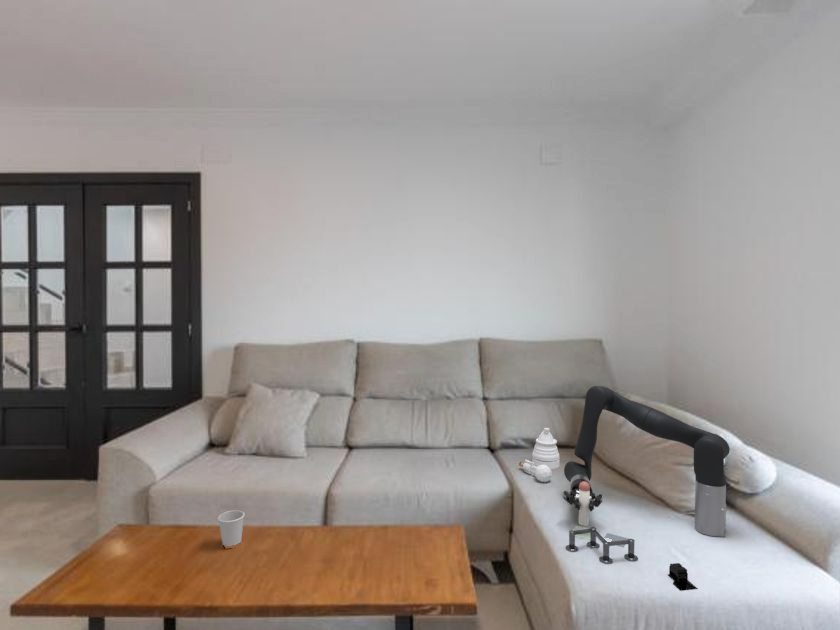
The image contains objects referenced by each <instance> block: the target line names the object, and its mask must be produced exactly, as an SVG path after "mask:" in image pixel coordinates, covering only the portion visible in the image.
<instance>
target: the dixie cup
mask: <svg viewBox="0 0 840 630" xmlns="http://www.w3.org/2000/svg"><path fill="white" fill-rule="evenodd" d="M245 515H246V514H245V512H244V511H242V510H236V509H235V510H233V509H232V510H228V511H225V512H222V513H221V514H219V515H218V516H217V520H218V525H219V530H220V539H221V543H222V546H223V545H226V546H232V545H236V544H238V543H240V542H241V543H242V539H243V538H242V537H243V529H244V518H245Z"/></svg>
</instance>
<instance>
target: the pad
mask: <svg viewBox="0 0 840 630" xmlns="http://www.w3.org/2000/svg"><path fill="white" fill-rule="evenodd" d="M583 529H589V528H588V527H586V526H585V527H584V526H582V525H576V526H575V527H574V528H573V529H572V530H573V531H576V530H583ZM596 531H597V532H598V533H599V534H600V531H599V530H596ZM575 538H581V539H583V540H587V541H590V533H584V534H577V535H575Z"/></svg>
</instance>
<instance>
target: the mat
mask: <svg viewBox="0 0 840 630" xmlns="http://www.w3.org/2000/svg"><path fill="white" fill-rule="evenodd" d="M603 538H609V539H612V541H621V540H628V539H630V538H628V537H624V536H621V535H617V534H613V533H609V532H607V533H606V534H605V536H604V537H603ZM616 547H621V548H625V547H626V544H625V545H616Z"/></svg>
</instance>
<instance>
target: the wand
mask: <svg viewBox="0 0 840 630" xmlns="http://www.w3.org/2000/svg"><path fill="white" fill-rule="evenodd" d="M589 499H590V485H589V484H588V483H587V482H585V481H583V482H581V483H580V484H579V502H580V510H578V524H579V525H580V526H585V527H586V526H589V525H590V510H589Z"/></svg>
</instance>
